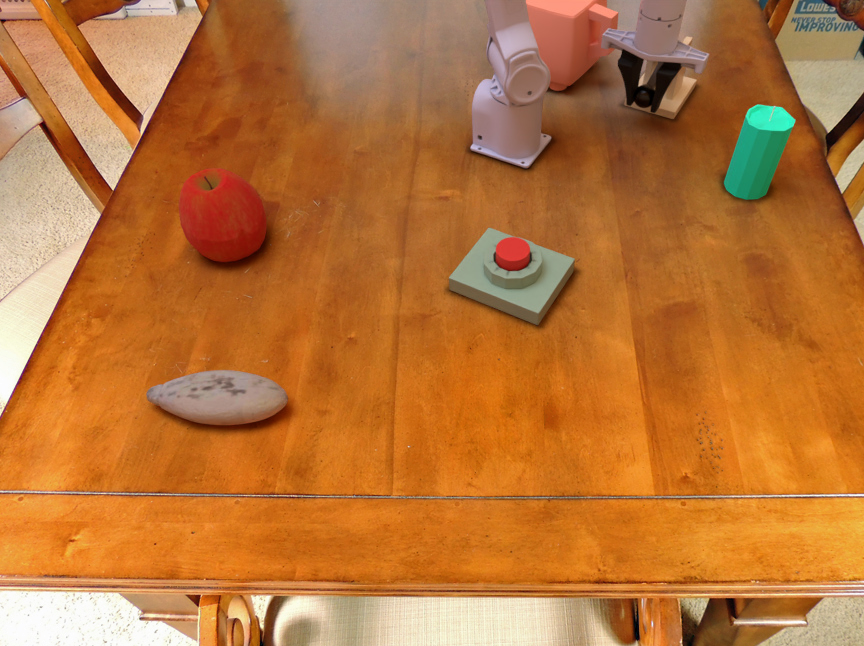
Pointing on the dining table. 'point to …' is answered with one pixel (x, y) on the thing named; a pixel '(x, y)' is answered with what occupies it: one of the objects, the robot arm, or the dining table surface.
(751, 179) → the candle
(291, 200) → the dining table surface
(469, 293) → the button block
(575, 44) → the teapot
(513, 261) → the button
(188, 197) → the apple
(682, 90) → the bracket
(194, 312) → the dining table surface
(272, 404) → the decorative stone
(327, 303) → the dining table surface
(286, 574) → the dining table surface
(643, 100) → the lever
